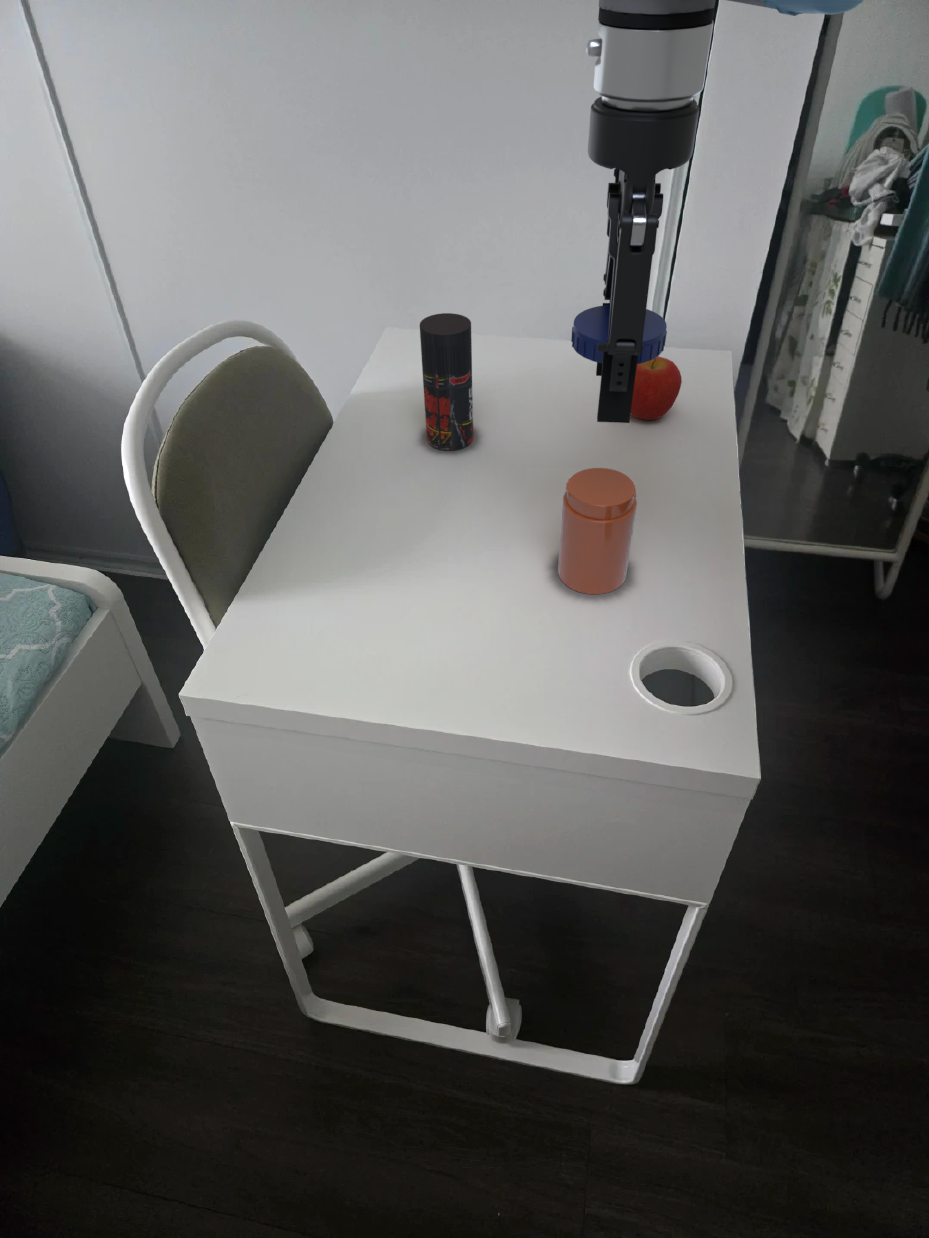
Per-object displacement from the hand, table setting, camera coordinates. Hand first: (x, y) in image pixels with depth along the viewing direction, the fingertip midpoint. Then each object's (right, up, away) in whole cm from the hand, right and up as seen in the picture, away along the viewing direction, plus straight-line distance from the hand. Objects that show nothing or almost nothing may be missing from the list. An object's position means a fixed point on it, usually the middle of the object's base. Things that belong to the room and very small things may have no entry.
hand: (611, 396), depth 72 cm
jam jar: (0, -15, +11) cm, 19 cm away
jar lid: (0, +4, -4) cm, 6 cm away
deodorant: (-15, +3, +31) cm, 35 cm away
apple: (+11, +7, +35) cm, 37 cm away
